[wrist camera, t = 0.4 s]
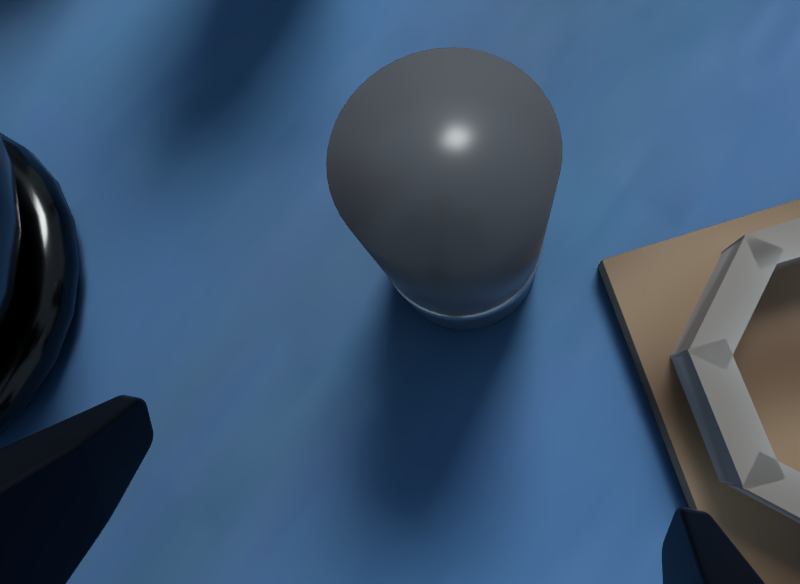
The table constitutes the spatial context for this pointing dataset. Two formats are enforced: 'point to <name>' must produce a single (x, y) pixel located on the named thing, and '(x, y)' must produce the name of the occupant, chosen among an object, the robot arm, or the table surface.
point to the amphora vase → (32, 275)
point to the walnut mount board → (725, 372)
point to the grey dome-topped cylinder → (449, 180)
